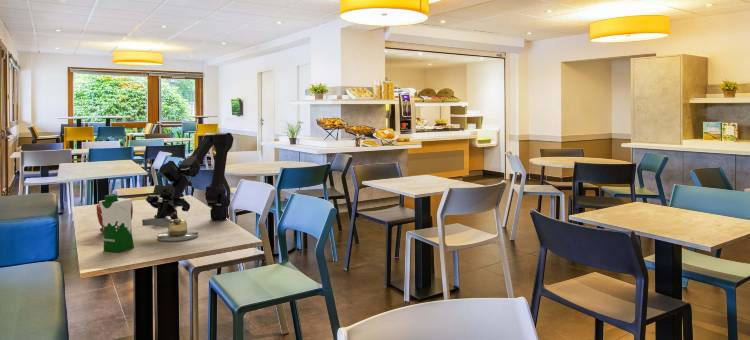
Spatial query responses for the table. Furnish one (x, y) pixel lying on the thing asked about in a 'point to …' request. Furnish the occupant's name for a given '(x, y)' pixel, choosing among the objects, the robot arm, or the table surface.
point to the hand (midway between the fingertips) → (157, 221)
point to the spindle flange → (177, 238)
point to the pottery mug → (171, 216)
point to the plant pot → (101, 216)
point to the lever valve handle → (168, 225)
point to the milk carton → (116, 223)
